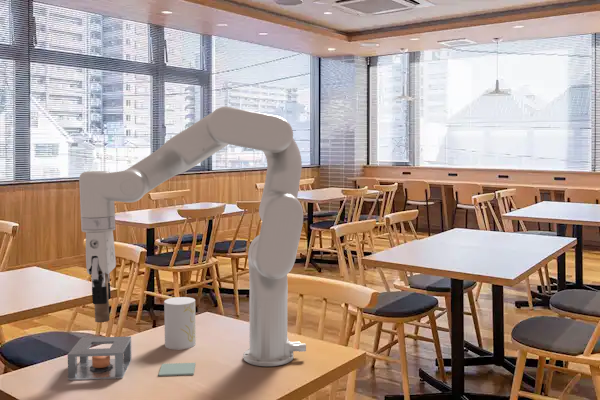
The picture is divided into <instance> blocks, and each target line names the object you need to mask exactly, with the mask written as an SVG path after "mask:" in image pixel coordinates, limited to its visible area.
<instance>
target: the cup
mask: <svg viewBox="0 0 600 400" xmlns="http://www.w3.org/2000/svg"><path fill="white" fill-rule="evenodd" d="M163 304H164V305H163V306H164V307H163V309H164V311H163V312H164V347H165V348H166V349H170V350H175V351H176V350H186V349H187V350H188V349H191V348H193V347H194V345H196V340H197V339H196V338H197V337H196V334H197V333H196V328H197V327H196V299H195V298H194V297H187V296H176V297H168V298H167V299H165V300H164V301H163ZM190 347H191V348H190Z"/></svg>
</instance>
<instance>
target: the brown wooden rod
mask: <svg viewBox="0 0 600 400" xmlns="http://www.w3.org/2000/svg"><path fill="white" fill-rule="evenodd" d="M98 273H102V271H98ZM99 277H101V279H102V276H99ZM108 283H109V282H108V274H106V273H105V286H107V303H106V304H93V305H94V321H95V323H106V322H109V321H110V304H109V303H110V301H109V300H110V299H109V297H108Z"/></svg>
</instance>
